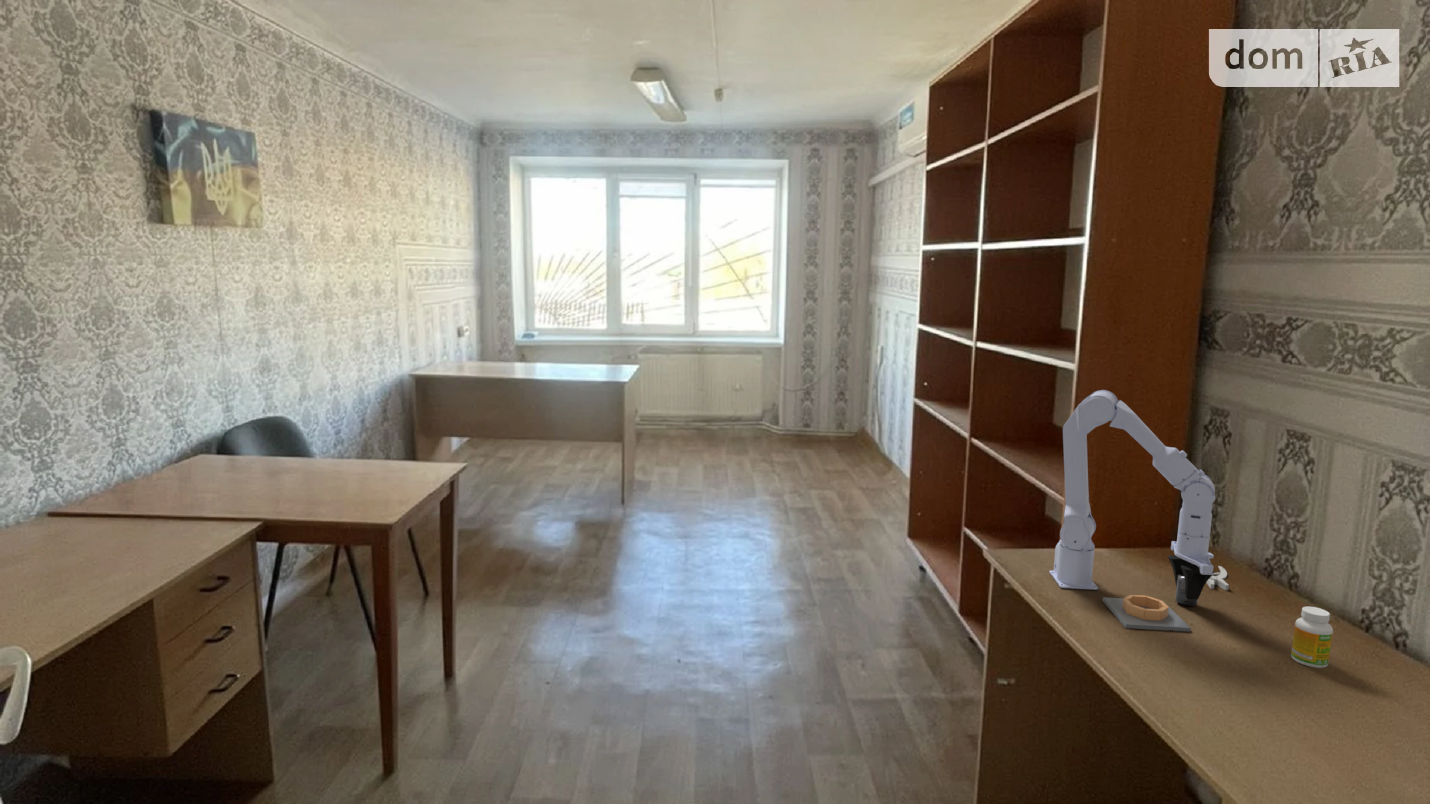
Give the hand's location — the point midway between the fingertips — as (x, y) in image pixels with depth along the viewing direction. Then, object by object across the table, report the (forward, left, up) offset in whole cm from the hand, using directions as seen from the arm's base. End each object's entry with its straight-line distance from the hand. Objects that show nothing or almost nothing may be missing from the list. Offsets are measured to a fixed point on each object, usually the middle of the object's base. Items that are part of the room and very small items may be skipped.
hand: (1187, 594), depth 163 cm
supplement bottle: (+23, +11, -2) cm, 26 cm away
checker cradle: (+7, -11, -2) cm, 13 cm away
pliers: (-17, +12, -3) cm, 21 cm away
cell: (0, 0, -2) cm, 2 cm away
